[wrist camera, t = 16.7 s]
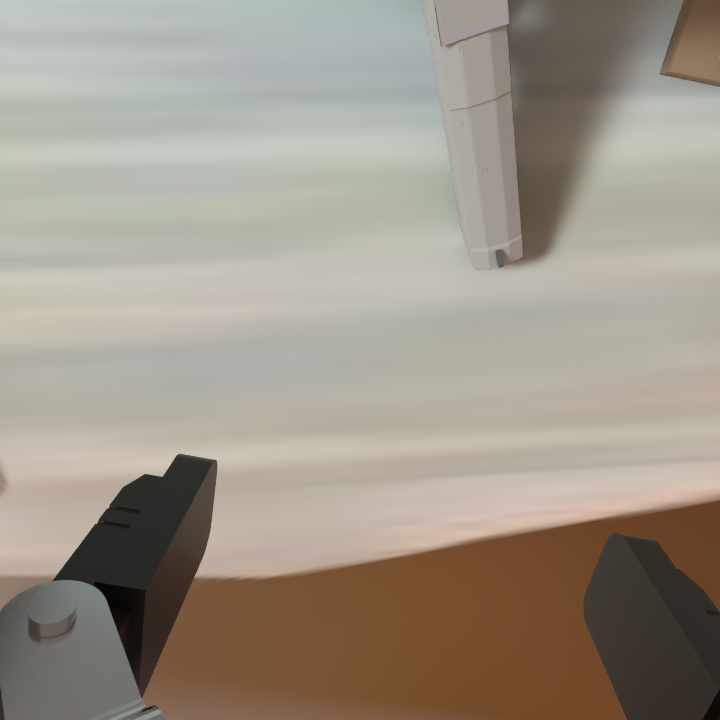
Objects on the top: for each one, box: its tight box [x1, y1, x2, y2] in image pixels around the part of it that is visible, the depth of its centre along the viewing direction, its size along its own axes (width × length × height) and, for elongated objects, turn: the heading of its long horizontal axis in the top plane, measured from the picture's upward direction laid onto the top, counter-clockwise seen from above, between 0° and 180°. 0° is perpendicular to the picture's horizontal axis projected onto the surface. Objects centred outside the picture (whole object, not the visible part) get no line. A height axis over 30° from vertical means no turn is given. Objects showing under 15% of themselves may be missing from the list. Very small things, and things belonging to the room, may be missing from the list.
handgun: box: [422, 0, 523, 270], centre depth 34 cm, size 4×28×15 cm, turn 17°
